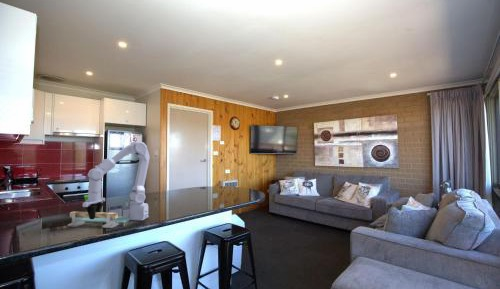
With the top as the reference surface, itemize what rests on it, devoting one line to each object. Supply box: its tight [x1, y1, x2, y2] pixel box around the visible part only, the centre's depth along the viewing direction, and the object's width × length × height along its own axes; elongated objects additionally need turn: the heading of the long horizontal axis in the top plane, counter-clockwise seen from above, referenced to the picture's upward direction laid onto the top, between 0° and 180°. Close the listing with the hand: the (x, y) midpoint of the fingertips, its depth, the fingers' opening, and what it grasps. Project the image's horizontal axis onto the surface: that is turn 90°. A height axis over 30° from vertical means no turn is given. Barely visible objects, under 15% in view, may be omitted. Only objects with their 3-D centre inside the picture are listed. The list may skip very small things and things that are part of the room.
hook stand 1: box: [67, 214, 87, 228], centre depth 128 cm, size 5×6×6 cm
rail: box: [69, 210, 119, 219], centre depth 128 cm, size 24×2×2 cm, turn 88°
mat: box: [82, 215, 130, 224], centre depth 138 cm, size 26×10×1 cm, turn 88°
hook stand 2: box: [101, 215, 120, 229], centre depth 127 cm, size 5×6×6 cm
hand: (93, 218), depth 128 cm, fingers closed on rail, 2 cm apart
